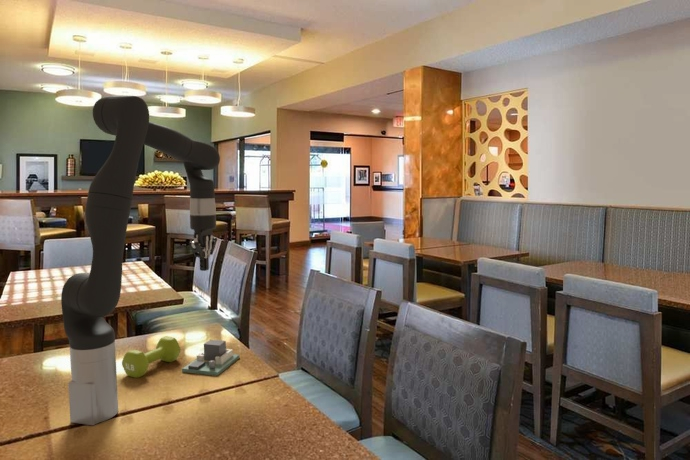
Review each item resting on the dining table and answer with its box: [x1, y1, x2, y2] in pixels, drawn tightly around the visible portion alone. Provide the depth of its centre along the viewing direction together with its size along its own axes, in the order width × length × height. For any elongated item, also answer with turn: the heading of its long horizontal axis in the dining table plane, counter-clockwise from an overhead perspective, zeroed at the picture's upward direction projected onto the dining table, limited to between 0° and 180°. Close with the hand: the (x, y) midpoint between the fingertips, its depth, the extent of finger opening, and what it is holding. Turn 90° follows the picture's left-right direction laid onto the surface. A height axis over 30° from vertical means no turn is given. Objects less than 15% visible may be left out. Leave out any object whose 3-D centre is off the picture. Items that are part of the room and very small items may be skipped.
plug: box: [203, 339, 227, 361], centre depth 144 cm, size 4×6×5 cm
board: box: [181, 348, 241, 377], centre depth 143 cm, size 14×11×3 cm
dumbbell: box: [121, 335, 181, 379], centre depth 140 cm, size 16×8×7 cm, turn 155°
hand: (204, 270), depth 147 cm, fingers closed
